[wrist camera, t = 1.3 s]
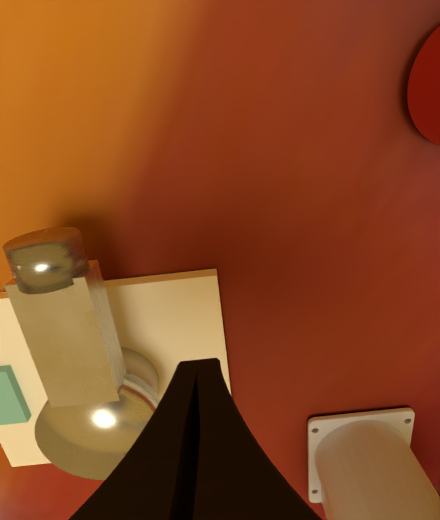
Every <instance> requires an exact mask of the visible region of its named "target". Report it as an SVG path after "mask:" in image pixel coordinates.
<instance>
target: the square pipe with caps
mask: <svg viewBox="0 0 440 520" xmlns="http://www.w3.org/2000/svg"><path fill="white" fill-rule="evenodd" d="M3 250H4V252H5V255H6V258H7V260H8V263H9V266H10V268H11V271H12V274H13V277H14V278H13V279H12V280H11V281H9V282H8V283H7V284H6V285H5V289H6V291H7V294H8V297H9V299H10V302H11V304H12V307H13V310H14V312H15V315H16V317H17V320H18V323H19V325H20V328H21V330H22V333H23V335H24V338H25V341H26V343H27V346H28V348H29V351H30V354H31V356H32V359H33V361H34V364H35V367H36V369H37V372H38V374H39V377H40V379H41V382H42V385H43V387H44V390H45V392H46V395H47V398H48V399H47V401H46V403H45V405H44V406H43V408H42V410H41V412H40V414H39V415H38V418H37V420H36V423H35V431H34V433H35V439H36V442H37V445H38V447H39V449H40V451H41V452H42V453H43V455H44V456H45V457H46V458H47V459H48V460H49V461H50V462H51V463H53V464H54V465H55V466H57V467H58V468H60V469H62V470H64V471H66V472H68V473H70V474H73V475H76V476H79V477H83V478H88V479H95V480H106V478H107V477H108V476H109V475H110V474H111V472H112V471H113V470H114V469H115V467H116V466H117V465H118V464H119V462H120V461H121V460H122V459H123V457H124V456H125V455H126V453H127V452H128V451H129V449H130V448H131V447H132V445H133V444H134V442H135V441H136V439H137V438H138V436H139V435H140V434H141V432H142V430H143V429H144V427H145V426H146V424H147V422H148V421H149V419H150V418H151V416H152V414H153V413H154V411H155V409H156V408H157V406H158V404H159V402H160V398H159V396H158V395H157V393H156V392H155V391H154V389H153V388H152V387H151V386H150V385H149V384H147V383H146V382H145V381H144V380H142V379H141V378H139V377H137V376H135V375H133V374H131V373H128V372H127V370H126V366H125V362H124V358H123V355H122V351H121V347H120V343H119V339H118V335H117V332H116V328H115V324H114V320H113V316H112V312H111V309H110V305H109V301H108V297H107V293H106V289H105V286H104V282H103V278H102V274H101V270H100V266H99V263H98V260H90V261H88V258H87V255H86V251H85V248H84V244H83V240H82V237H81V233H80V230H79V229H78V228H76V227H55V228H48V229H43V230H38V231H34V232H30V233H27V234H24V235H21V236H19V237H16V238H14V239H12V240H10V241H8V242H7V243H5V244H4V246H3Z"/></svg>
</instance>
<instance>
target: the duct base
mask: <svg viewBox="0 0 440 520" xmlns="http://www.w3.org/2000/svg"><path fill="white" fill-rule="evenodd" d="M103 282H104V286H105V289H106V293H107V297H108V301H109V305H110V309H111V312H112V316H113V320H114V324H115V328H116V332H117V335H118V339H119V343H120V347H121V351H122V355H123V358H124V362H125V366H126V370H127V372H128V373H131V374H133V375H135V376H137V377H139V378H141V379H142V380H144V381H145V382H146V383H147V384H149V385H150V386H151V387H152V388H153V389H154V391H155V392H156V393H157V395H158V396H159V398H160V400H161V398H162V397H163V395H164V393H165V391H166V389H167V387H168V385H169V383H170V381H171V379H172V377H173V374H174V372H175V370H176V367H177V365H178V364H179V362H180V361H189V360H199V359H208V358H218V359H219V360H220V364H221V370H222V374H223V377H224V380H225V382H226V385H227V388H228V390H229V392H230V394H231V387H230V379H229V370H228V362H227V353H226V345H225V336H224V328H223V319H222V311H221V302H220V294H219V285H218V277H217V269H207V270H198V271H189V272H180V273H171V274H161V275H152V276H143V277H134V278H124V279H115V280H106V281H103ZM47 399H48V398H47V395H46V392H45V390H44V387H43V385H42V382H41V379H40V377H39V374H38V372H37V369H36V367H35V364H34V361H33V359H32V356H31V354H30V351H29V348H28V346H27V343H26V341H25V338H24V335H23V333H22V330H21V328H20V325H19V323H18V320H17V317H16V315H15V312H14V310H13V307H12V304H11V302H10V299H9V297H8V294H7V291H5V292H0V443H1V445H2V447H3V449H4V451H5V453H6V455H7V457H8V460H9V462H10V464H11V466H12V467H16V466H25V465H35V464H45V463H51V462H50V461H49V460H48V459H47V458H46V457H45V456H44V455H43V453H42V452H41V451H40V449H39V447H38V445H37V442H36V439H35V433H34V431H35V423H36V420H37V418H38V415H39V414H40V412H41V410H42V408H43V406H44V405H45V403H46V401H47Z"/></svg>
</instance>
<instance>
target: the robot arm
mask: <svg viewBox="0 0 440 520" xmlns="http://www.w3.org/2000/svg"><path fill="white" fill-rule="evenodd" d="M414 417H415V413H414V412H413V410H412V409H411V408H398V409H388V410H379V411H369V412H359V413H350V414H340V415H331V416H321V417H313V418H310V419H309V420H308V423H307V426H308V497H309V501H310V502H312V503H319V502H322V505H323V508H324V512H325V515H326V518H327V520H440V497H439V495H438V494H437V492H436V490H435V489H434V487H433V485H432V484H431V482H430V480H429V479H428V477H427V475H426V474H425V472H424V470H423V469H422V467H421V465H420V464H419V462H418V460H417V459H416V457H415V455H414V454H413V452H412V450H411V449H410V443H411V436H412V430H413V423H414ZM314 428H315V429H314ZM69 520H322V519H321V518H320V517H319V516H318V515H317V514H316V513H315V512H314V511H313V510H312V509H311V508H310V507H309V506H308V505H307V504H306V502H305V501H304V500H303V499H302V498H301V497H300V496H299V495H298V494H297V492H296V491H295V490H294V489H293V488H292V487H291V486H290V484H289V483H288V482H287V481H286V479H285V478H284V477H283V476H282V475H281V473H280V472H279V471H278V470H277V468H276V467H275V466H274V465H273V463H272V462H271V461H270V459H269V458H268V457H267V455H266V454H265V453H264V451H263V450H262V448H261V447H260V445H259V444H258V442H257V441H256V439H255V438H254V436H253V435H252V433H251V432H250V430H249V428H248V427H247V425H246V423H245V422H244V420H243V418H242V416H241V415H240V413H239V411H238V409H237V407H236V405H235V403H234V401H233V399H232V396H231V394H230V392H229V390H228V388H227V385H226V382H225V380H224V377H223V374H222V370H221V364H220V360H219V359H218V358H208V359H199V360H189V361H180V362H179V364H178V365H177V367H176V370H175V372H174V374H173V377H172V379H171V381H170V383H169V385H168V387H167V389H166V391H165V393H164V395H163V397H162V398H161V400H160V402H159V404H158V406H157V408H156V409H155V411H154V413H153V414H152V416H151V418H150V419H149V421H148V422H147V424H146V426H145V427H144V429H143V430H142V432H141V434H140V435H139V436H138V438H137V439H136V441H135V442H134V444H133V445H132V447H131V448H130V449H129V451H128V452H127V453H126V455H125V456H124V457H123V459H122V460H121V461H120V462H119V464H118V465H117V466H116V467H115V469H114V470H113V471H112V472H111V474H110V475H109V476H108V477H107V478H106V480H105V481H104V482H103V483H102V484H101V485H100V487H99V488H98V489H97V490H96V491H95V492H94V493H93V494H92V495H91V496H90V497H89V499H88V500H87V501H86V502H85V503H84V504H83V505H82V506H81V507H80V508H79V509H78V510H77V511H76V512H75V513H74V514H73V515H72V516H71V517H70V518H69Z"/></svg>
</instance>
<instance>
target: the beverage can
mask: <svg viewBox="0 0 440 520" xmlns="http://www.w3.org/2000/svg"><path fill="white" fill-rule="evenodd" d="M408 107H409V111H410V115H411V118H412V120H413V122H414V124H415V126H416V127H417V129H418V130H419V132H420V133H421V134H422V135H423V136H424V137H425V138H427V139H428V140H429V141H431V142H433V143H435V144H437V145H440V25H439V26H438V27H437V28H436V29H435V30H434V32H433V33H432V34H431V35H430V36H429V38H428V39H427V40H426V42H425V43H424V45H423V46H422V48H421V49H420V51H419V53H418V55H417V57H416V59H415V62H414V64H413V67H412V70H411V73H410V77H409V83H408Z"/></svg>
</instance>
